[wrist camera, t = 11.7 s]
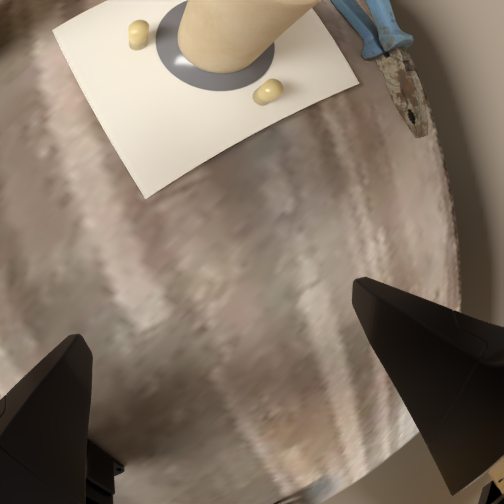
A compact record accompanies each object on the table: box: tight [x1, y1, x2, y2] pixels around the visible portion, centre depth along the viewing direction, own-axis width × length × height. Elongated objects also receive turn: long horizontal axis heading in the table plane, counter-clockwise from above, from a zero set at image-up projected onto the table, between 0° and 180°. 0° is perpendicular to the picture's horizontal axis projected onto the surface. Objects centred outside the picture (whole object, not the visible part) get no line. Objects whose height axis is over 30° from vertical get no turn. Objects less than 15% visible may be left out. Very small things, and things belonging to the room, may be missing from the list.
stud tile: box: [52, 0, 359, 199], centre depth 15 cm, size 18×14×3 cm
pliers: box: [331, 0, 428, 138], centre depth 18 cm, size 20×2×6 cm, turn 22°
